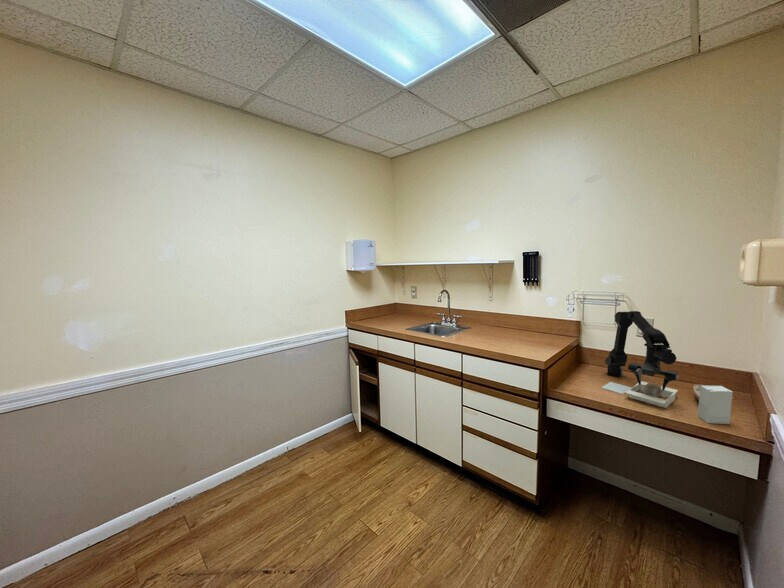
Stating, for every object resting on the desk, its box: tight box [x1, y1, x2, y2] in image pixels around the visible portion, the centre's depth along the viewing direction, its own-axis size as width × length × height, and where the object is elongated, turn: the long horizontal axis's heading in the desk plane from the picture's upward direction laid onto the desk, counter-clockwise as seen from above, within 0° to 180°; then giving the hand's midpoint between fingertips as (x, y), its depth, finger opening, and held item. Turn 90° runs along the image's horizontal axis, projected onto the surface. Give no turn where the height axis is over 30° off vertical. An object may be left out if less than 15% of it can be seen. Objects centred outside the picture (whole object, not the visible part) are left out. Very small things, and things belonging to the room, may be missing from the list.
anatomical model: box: [692, 383, 709, 401], centre depth 150 cm, size 23×10×5 cm, turn 144°
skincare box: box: [697, 385, 734, 425], centre depth 134 cm, size 8×6×15 cm
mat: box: [600, 381, 632, 395], centre depth 169 cm, size 10×12×1 cm
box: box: [642, 382, 662, 399], centre depth 157 cm, size 5×9×6 cm, turn 126°
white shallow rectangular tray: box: [624, 380, 679, 409], centre depth 157 cm, size 15×22×4 cm
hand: (651, 387), depth 156 cm, fingers open, 9 cm apart
